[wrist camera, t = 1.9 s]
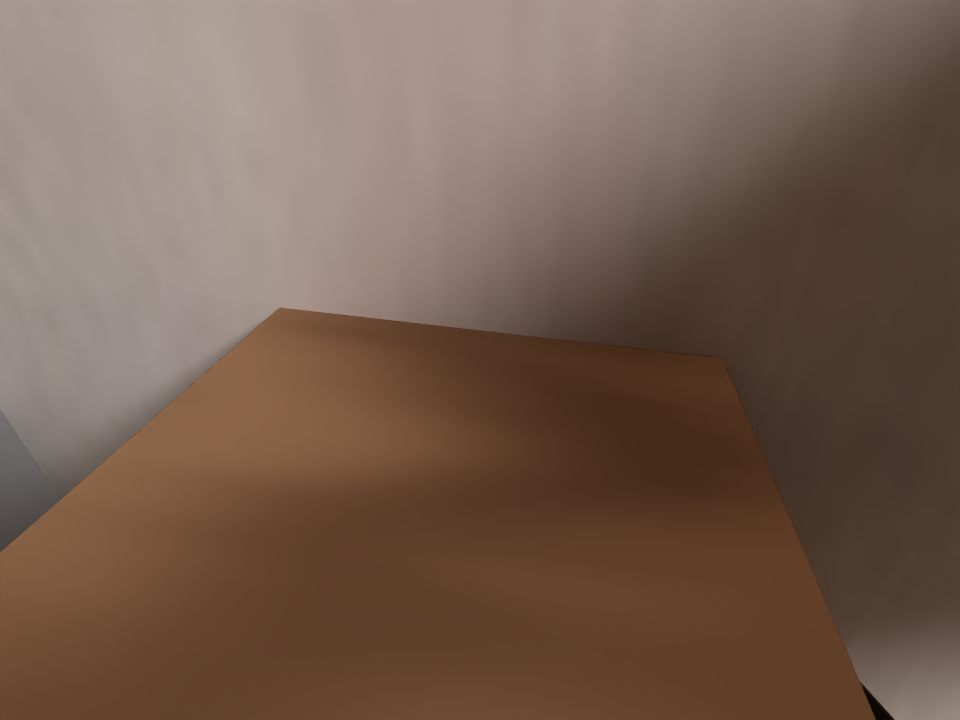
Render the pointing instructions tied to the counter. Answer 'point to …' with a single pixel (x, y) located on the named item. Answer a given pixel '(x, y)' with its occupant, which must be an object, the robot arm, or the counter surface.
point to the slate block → (20, 487)
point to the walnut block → (426, 545)
